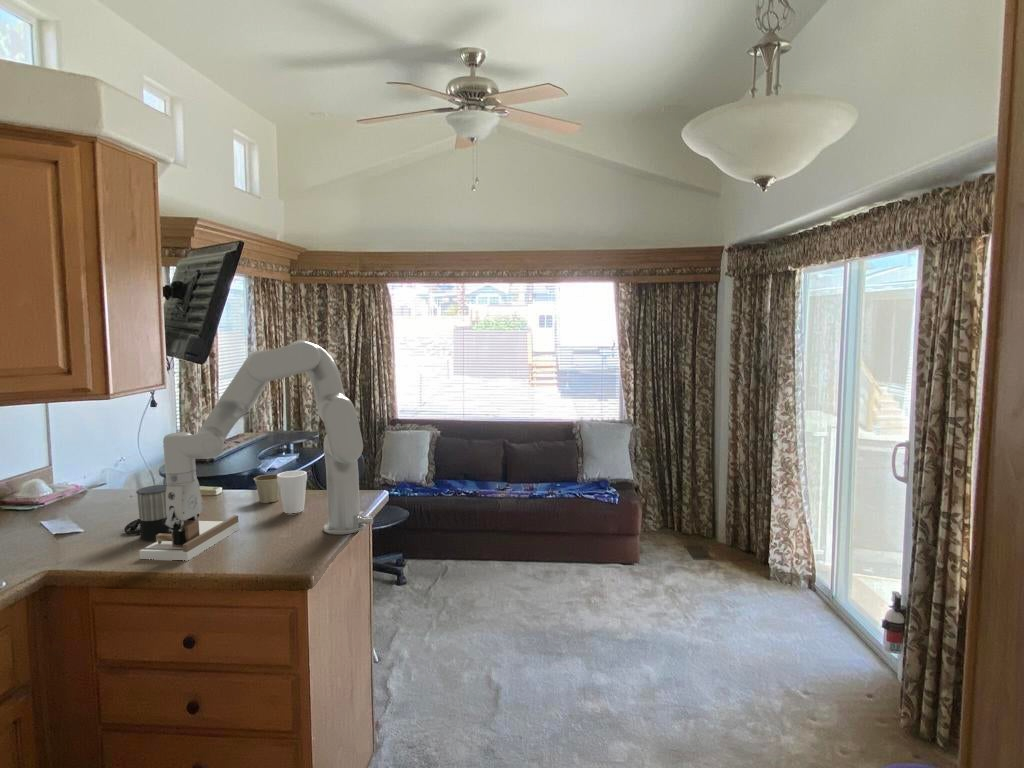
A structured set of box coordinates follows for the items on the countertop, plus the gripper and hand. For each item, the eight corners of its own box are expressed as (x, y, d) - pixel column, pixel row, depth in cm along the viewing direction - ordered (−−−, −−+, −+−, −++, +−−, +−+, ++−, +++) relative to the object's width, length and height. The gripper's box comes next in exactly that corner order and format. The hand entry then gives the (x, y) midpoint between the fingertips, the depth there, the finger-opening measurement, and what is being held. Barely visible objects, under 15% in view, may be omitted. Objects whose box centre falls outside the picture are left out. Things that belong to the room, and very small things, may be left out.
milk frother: (167, 540, 194) (163, 491, 192) (110, 544, 192) (105, 495, 190) (184, 525, 208) (180, 479, 206) (131, 528, 206) (127, 482, 204)
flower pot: (259, 497, 238) (257, 474, 237) (285, 496, 239) (284, 473, 238) (251, 505, 229) (250, 481, 228) (279, 504, 230) (278, 479, 229)
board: (238, 529, 203) (238, 515, 202) (188, 560, 177) (186, 544, 177) (196, 528, 204) (195, 514, 204) (140, 559, 179) (138, 543, 178)
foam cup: (312, 512, 219) (310, 474, 218) (283, 517, 214) (281, 478, 213) (303, 505, 227) (301, 469, 226) (276, 510, 222) (273, 473, 220)
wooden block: (200, 541, 185) (198, 520, 185) (189, 547, 180) (187, 526, 180) (164, 540, 187) (162, 519, 186) (152, 546, 182) (150, 525, 181)
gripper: (174, 485, 172) (179, 552, 174) (211, 470, 189) (216, 531, 191) (148, 485, 173) (153, 551, 175) (187, 469, 190) (192, 530, 192)
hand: (186, 540), depth 183 cm, fingers closed on wooden block, 5 cm apart
